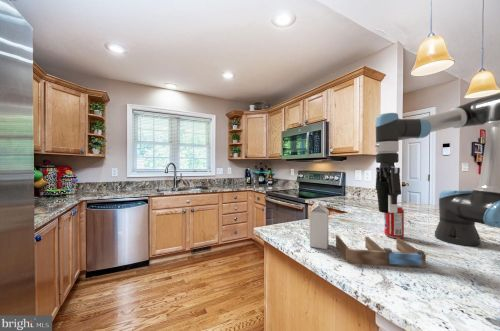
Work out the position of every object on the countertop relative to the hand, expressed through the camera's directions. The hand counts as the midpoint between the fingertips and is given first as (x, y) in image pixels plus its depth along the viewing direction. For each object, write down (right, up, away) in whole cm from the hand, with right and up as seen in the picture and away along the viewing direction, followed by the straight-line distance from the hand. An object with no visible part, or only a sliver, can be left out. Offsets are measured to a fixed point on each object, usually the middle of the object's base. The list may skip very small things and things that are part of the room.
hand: (387, 210), depth 83 cm
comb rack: (-7, -17, -3) cm, 18 cm away
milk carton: (-25, -17, +8) cm, 31 cm away
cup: (0, -1, 0) cm, 1 cm away
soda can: (+16, -17, +19) cm, 30 cm away
